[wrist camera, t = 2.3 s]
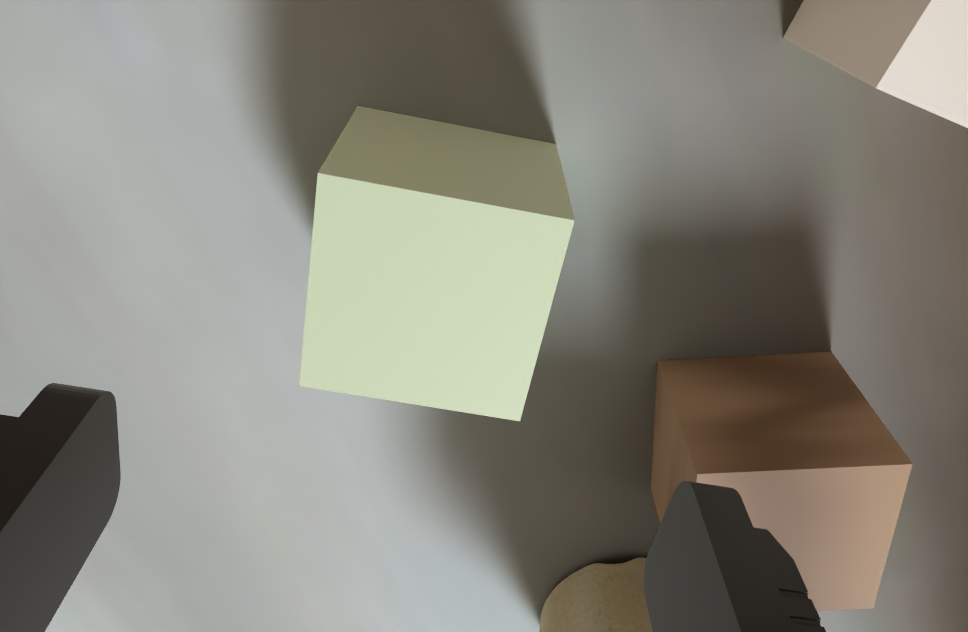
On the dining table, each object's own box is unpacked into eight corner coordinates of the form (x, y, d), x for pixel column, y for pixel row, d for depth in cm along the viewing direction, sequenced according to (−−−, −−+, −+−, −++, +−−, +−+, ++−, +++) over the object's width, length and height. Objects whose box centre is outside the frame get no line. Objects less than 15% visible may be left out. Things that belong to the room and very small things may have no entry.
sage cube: (555, 143, 19) (574, 220, 15) (514, 312, 22) (520, 421, 17) (358, 105, 19) (317, 172, 14) (338, 281, 21) (298, 386, 17)
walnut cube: (829, 349, 22) (912, 464, 18) (805, 480, 25) (873, 608, 20) (656, 359, 22) (697, 473, 18) (650, 487, 25) (684, 616, 20)
